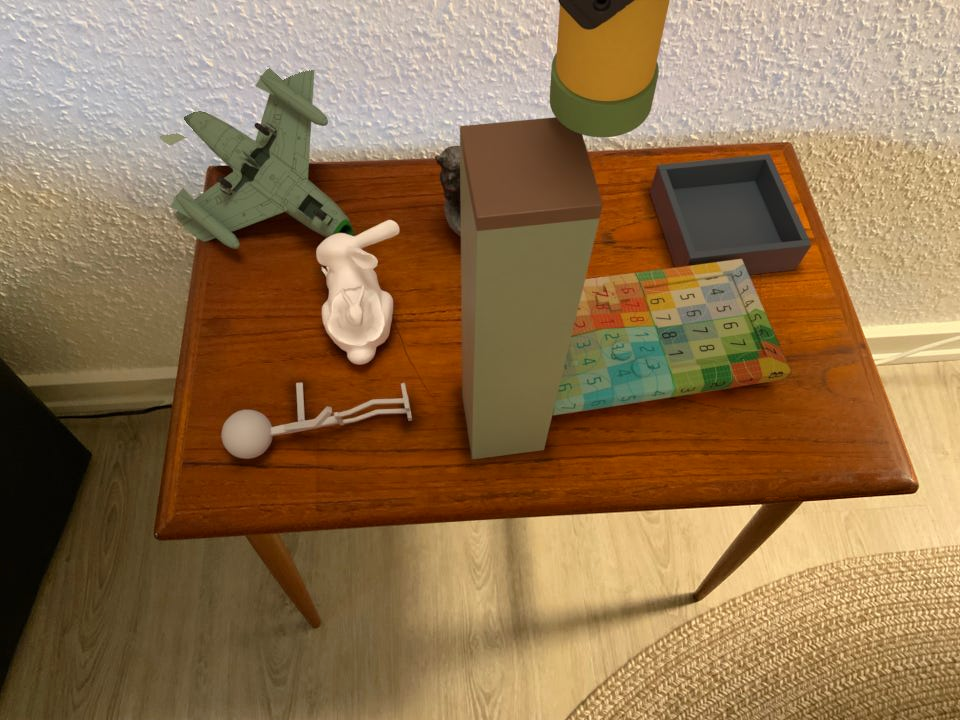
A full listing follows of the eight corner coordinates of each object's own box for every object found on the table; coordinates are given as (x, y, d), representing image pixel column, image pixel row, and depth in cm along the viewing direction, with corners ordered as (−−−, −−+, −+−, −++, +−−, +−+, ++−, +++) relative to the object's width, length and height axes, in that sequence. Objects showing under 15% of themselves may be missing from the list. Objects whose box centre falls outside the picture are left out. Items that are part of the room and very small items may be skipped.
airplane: (330, 236, 63) (379, 267, 73) (343, -9, 67) (388, 51, 76) (104, 253, 70) (176, 279, 80) (127, 30, 73) (193, 81, 83)
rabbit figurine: (321, 265, 69) (301, 195, 61) (401, 255, 70) (392, 184, 62) (331, 377, 63) (310, 316, 55) (418, 364, 64) (411, 302, 56)
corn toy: (663, 130, 35) (719, -98, 26) (560, 144, 35) (578, -81, 26) (637, 59, 38) (679, -173, 28) (541, 72, 37) (551, -158, 28)
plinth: (544, 450, 61) (603, 204, 35) (471, 459, 60) (476, 217, 34) (531, 386, 64) (576, 114, 37) (462, 394, 63) (459, 125, 37)
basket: (795, 270, 70) (812, 245, 67) (679, 283, 69) (690, 258, 66) (756, 180, 76) (769, 153, 72) (648, 191, 75) (657, 164, 71)
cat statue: (562, 208, 73) (574, 131, 65) (561, 265, 70) (574, 192, 61) (441, 200, 74) (438, 123, 65) (435, 257, 70) (430, 183, 61)
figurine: (397, 342, 58) (203, 377, 57) (410, 417, 56) (211, 455, 55) (402, 365, 64) (227, 397, 62) (414, 434, 62) (234, 468, 61)
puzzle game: (524, 282, 63) (745, 252, 65) (520, 312, 67) (728, 283, 69) (554, 403, 58) (796, 366, 60) (548, 428, 62) (774, 392, 64)
